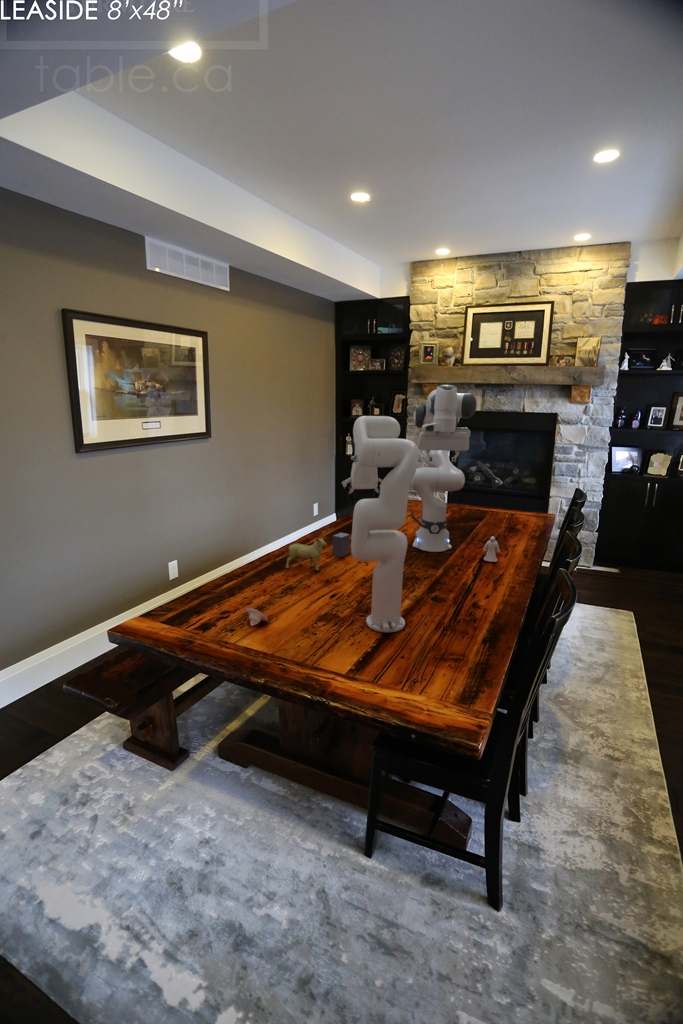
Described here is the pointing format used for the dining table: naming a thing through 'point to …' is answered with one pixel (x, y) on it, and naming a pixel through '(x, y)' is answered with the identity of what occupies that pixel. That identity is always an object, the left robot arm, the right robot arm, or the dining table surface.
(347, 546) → the brick
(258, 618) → the seashell
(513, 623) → the dining table surface
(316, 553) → the toy
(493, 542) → the figurine
